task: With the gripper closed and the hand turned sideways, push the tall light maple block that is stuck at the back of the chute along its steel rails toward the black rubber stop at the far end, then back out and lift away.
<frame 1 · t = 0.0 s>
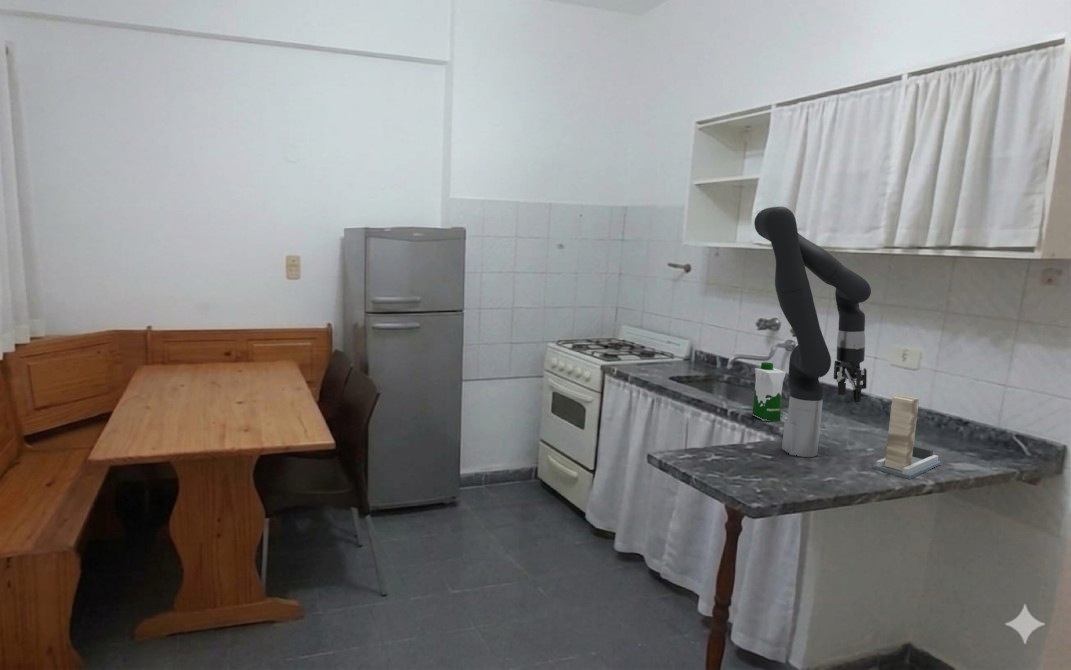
hand: (848, 398, 197), 17 cm above the countertop, tool pointing down, fingers open, 8 cm apart
jammed block: (901, 432, 183), point 11 cm above the countertop, slide at 0.0 cm
milk carton: (766, 419, 236), on the countertop
chute: (907, 466, 189), on the countertop
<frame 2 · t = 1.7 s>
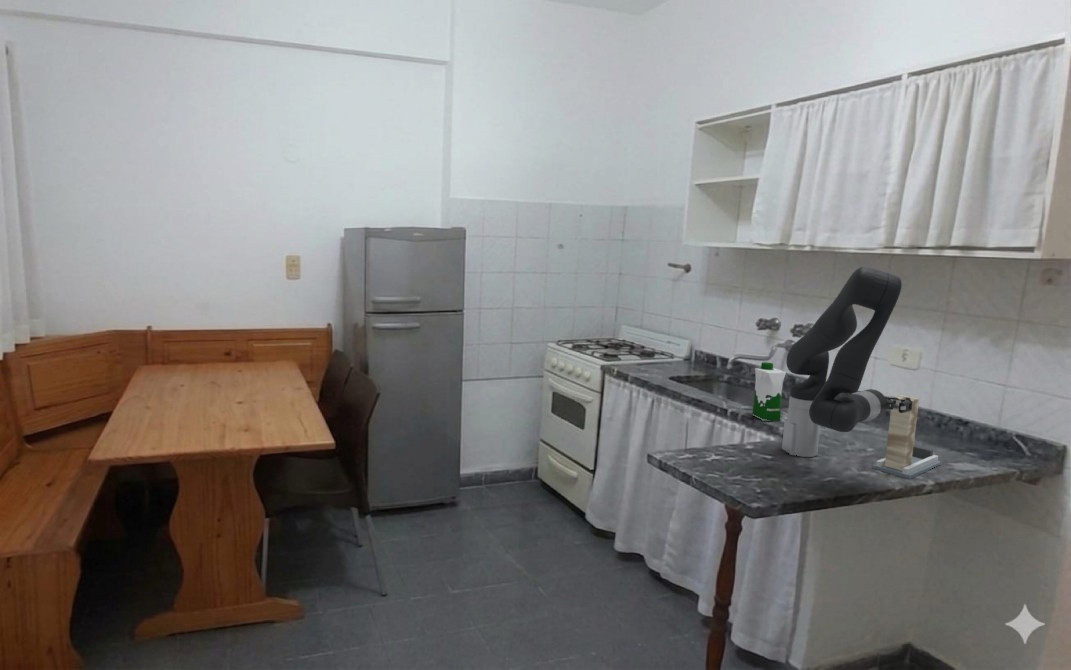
hand: (892, 398, 176), 22 cm above the countertop, tool horizontal, fingers open, 7 cm apart
nothing on the countertop moved.
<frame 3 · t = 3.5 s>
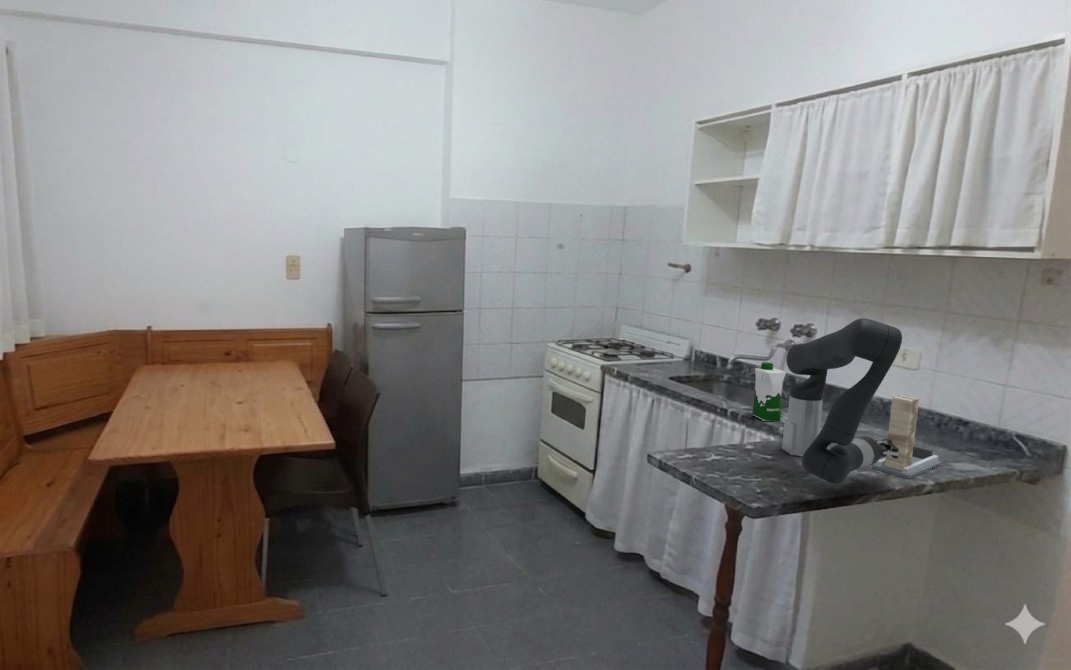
hand: (888, 442, 178), 10 cm above the countertop, tool horizontal, fingers closed
nothing on the countertop moved.
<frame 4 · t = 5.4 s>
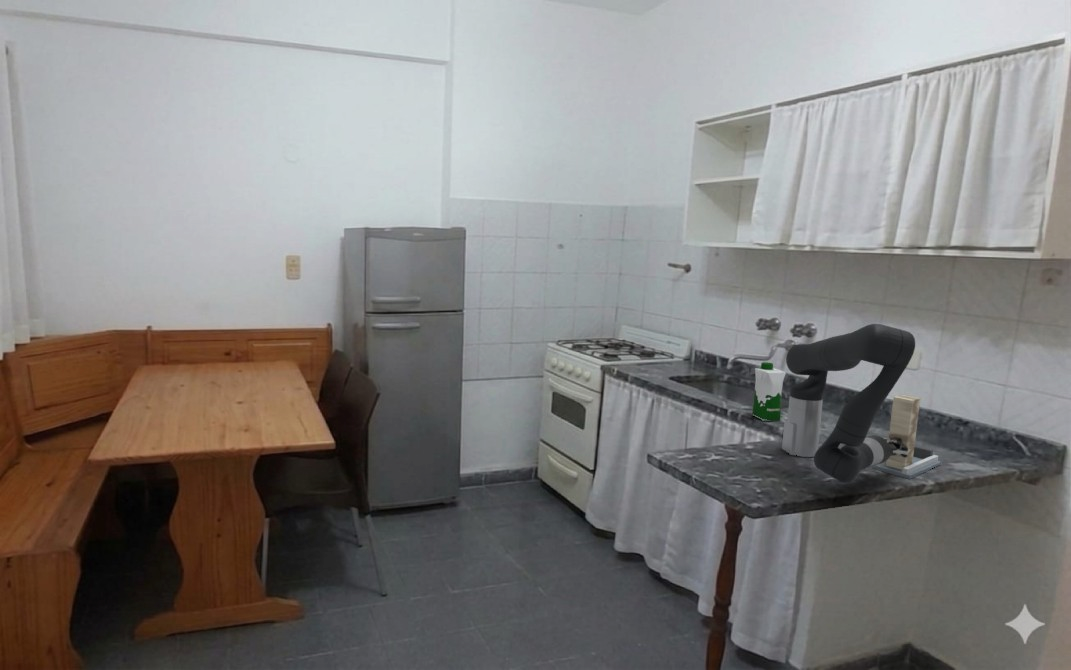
hand: (897, 441, 182), 9 cm above the countertop, tool horizontal, fingers closed
jammed block: (902, 432, 183), point 11 cm above the countertop, slide at 0.7 cm, touching gripper
everything else where it was.
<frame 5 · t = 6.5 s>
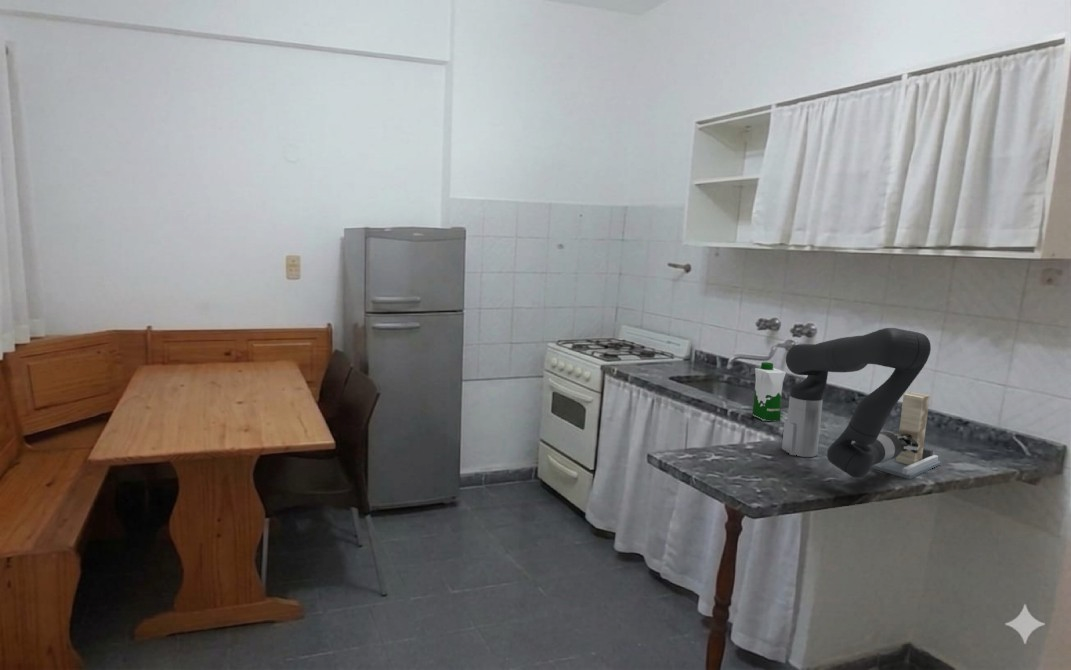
hand: (907, 437, 186), 9 cm above the countertop, tool horizontal, fingers closed
jammed block: (912, 428, 187), point 11 cm above the countertop, slide at 7.1 cm, touching gripper
everything else where it was.
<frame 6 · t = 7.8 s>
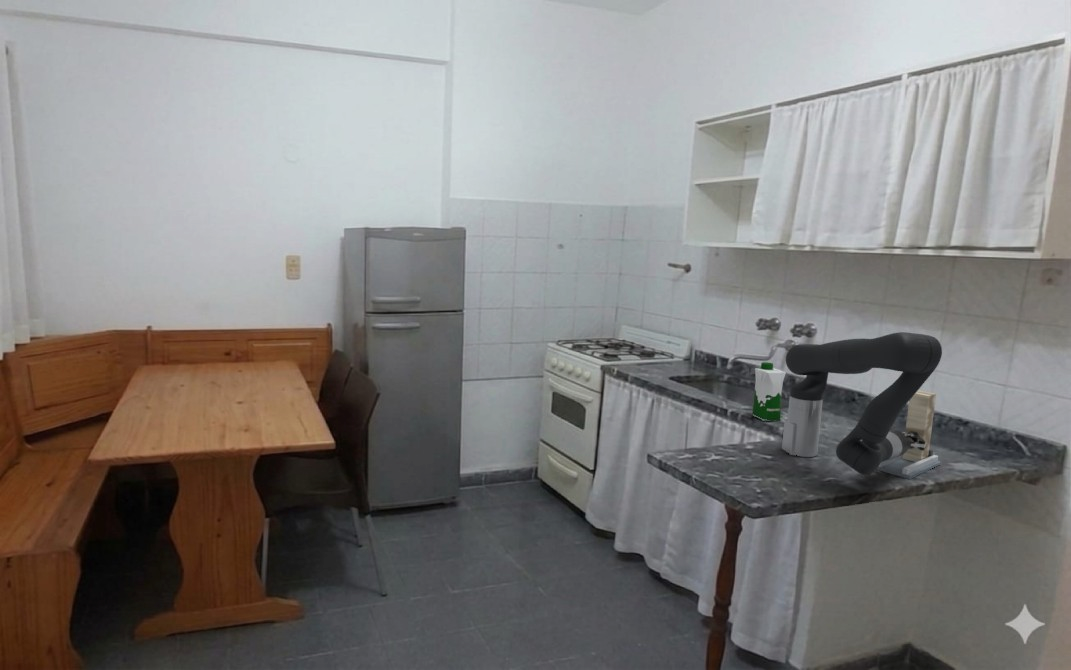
hand: (914, 435, 189), 9 cm above the countertop, tool horizontal, fingers closed
jammed block: (918, 426, 190), point 11 cm above the countertop, slide at 11.4 cm, touching gripper
everything else where it was.
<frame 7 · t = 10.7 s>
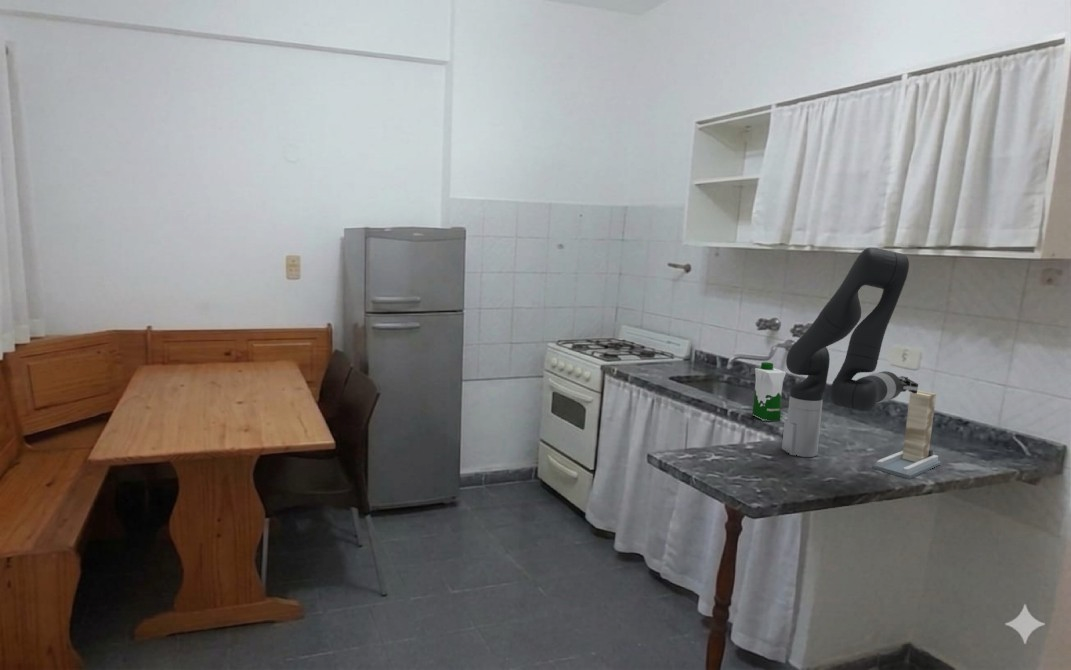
hand: (904, 380, 181), 26 cm above the countertop, tool horizontal, fingers closed
jammed block: (919, 426, 190), point 11 cm above the countertop, slide at 11.5 cm
everything else where it was.
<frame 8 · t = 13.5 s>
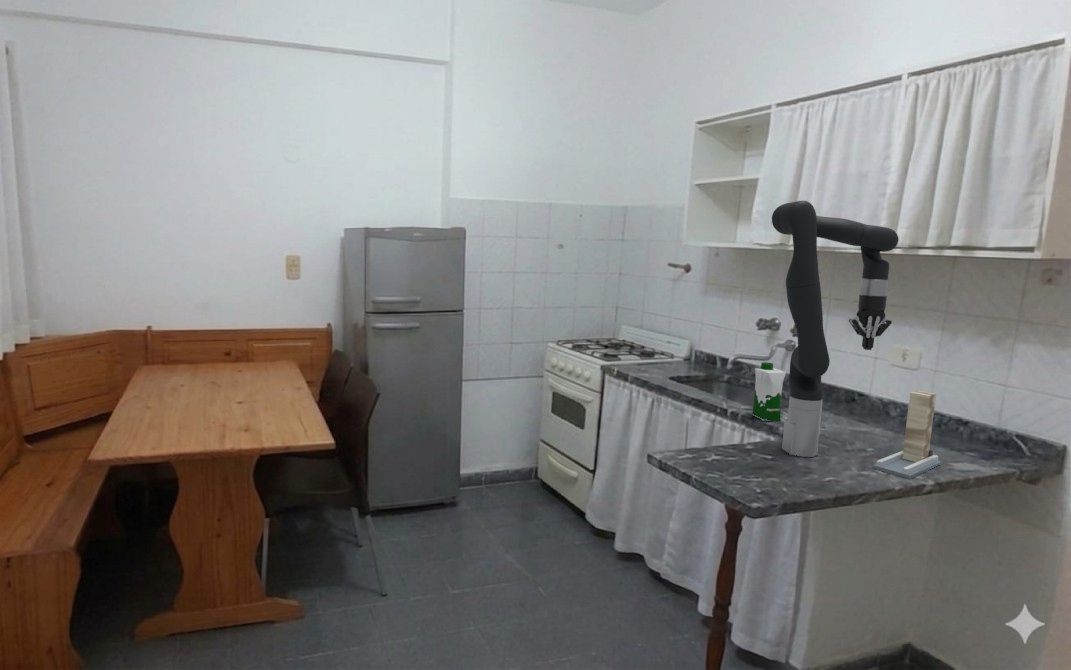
hand: (867, 349, 203), 31 cm above the countertop, tool pointing down, fingers closed
nothing on the countertop moved.
at the end: jammed block slide at 11.5 cm; milk carton moved 0.2 cm from its start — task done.
